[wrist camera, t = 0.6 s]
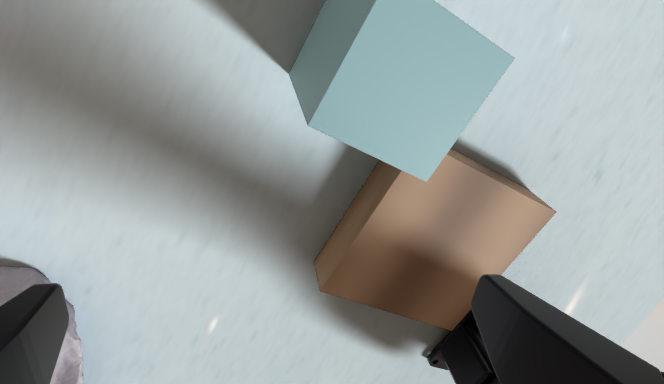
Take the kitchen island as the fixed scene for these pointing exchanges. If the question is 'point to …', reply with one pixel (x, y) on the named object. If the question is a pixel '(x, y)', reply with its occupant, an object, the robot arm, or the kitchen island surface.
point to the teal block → (395, 78)
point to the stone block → (68, 369)
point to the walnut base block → (428, 239)
